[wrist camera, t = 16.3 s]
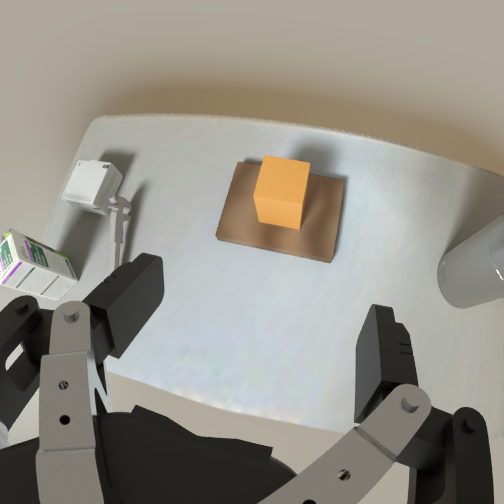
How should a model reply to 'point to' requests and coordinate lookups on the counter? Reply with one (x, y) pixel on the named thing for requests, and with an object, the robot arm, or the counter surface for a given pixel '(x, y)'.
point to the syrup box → (34, 267)
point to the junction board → (278, 237)
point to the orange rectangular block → (281, 191)
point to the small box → (92, 186)
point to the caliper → (117, 229)
